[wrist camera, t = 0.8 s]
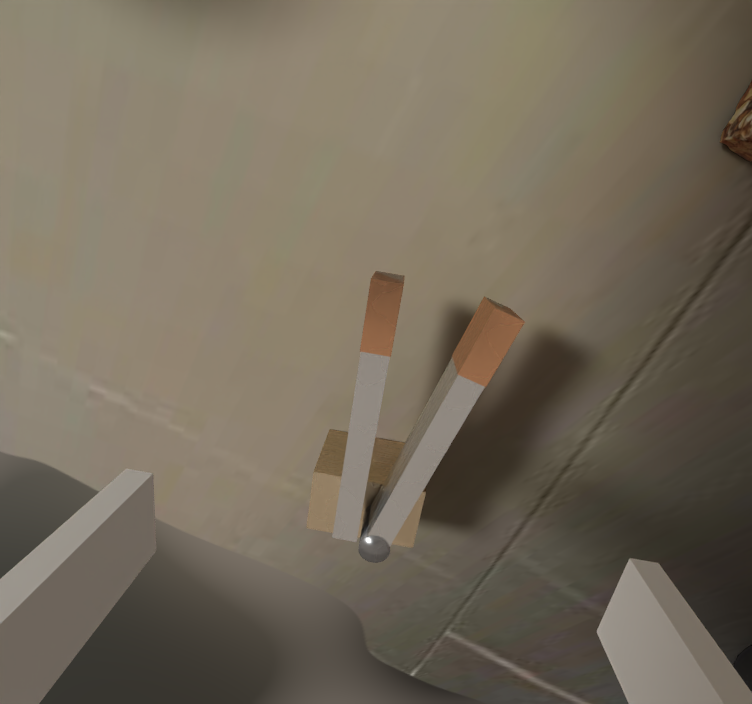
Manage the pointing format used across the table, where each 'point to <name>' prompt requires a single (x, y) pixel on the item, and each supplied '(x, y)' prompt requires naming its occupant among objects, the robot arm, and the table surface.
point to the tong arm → (438, 424)
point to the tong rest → (363, 432)
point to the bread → (740, 128)
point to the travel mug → (745, 666)
